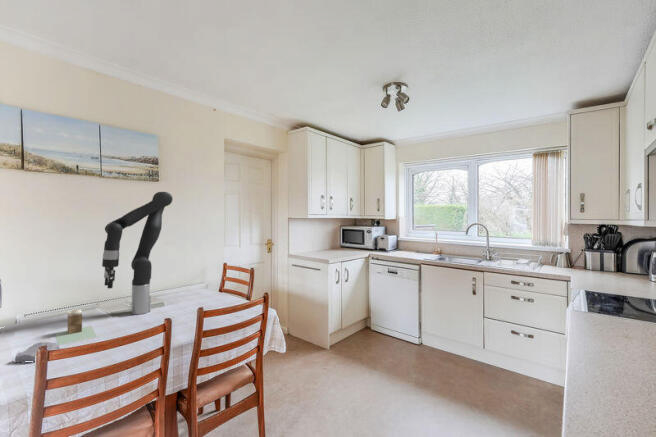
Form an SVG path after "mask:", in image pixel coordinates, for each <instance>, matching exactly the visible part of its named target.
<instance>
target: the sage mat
mask: <svg viewBox="0 0 656 437" xmlns="http://www.w3.org/2000/svg"><path fill="white" fill-rule="evenodd" d="M54 334H55V338H56V342H57V343H56V344H58V345H59V346H60V345H65V344H71V343H76V342H78V341H79V342H80V341H83V340H88V339H93V338H97V337H98V335H97V334H96V332H95V330H94V328H93V327H92V325H90V326H82V332H79V333H74V334H68V329H67V330H63V331H59V332H54Z"/></svg>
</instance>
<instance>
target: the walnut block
mask: <svg viewBox="0 0 656 437" xmlns="http://www.w3.org/2000/svg"><path fill="white" fill-rule="evenodd" d="M82 328H83V311H82V309H75V310H68V311H67V330H68V334H74V333H79V332H82Z"/></svg>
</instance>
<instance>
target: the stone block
mask: <svg viewBox="0 0 656 437" xmlns="http://www.w3.org/2000/svg"><path fill="white" fill-rule="evenodd" d="M43 345H48V350H53V349H58V350H59V349H60V345H58V343H56V342H55V343H54V342H51V341H49V342H48V341H44V342H43V341H41V342H36V343H35V344H33V345H31V346H29V347H28V348H27V349H25V350H23V351H20V352H18V353H16V355H15V358H14V361H15V363H16V362H17V364H19V363H18V362H25V361H33V362H34V363H36V362H35V356H36V350H37V348H38V347H40V346H43ZM25 363H26V362H25Z"/></svg>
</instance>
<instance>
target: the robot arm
mask: <svg viewBox="0 0 656 437" xmlns="http://www.w3.org/2000/svg"><path fill="white" fill-rule="evenodd" d="M172 203H173V196H172V194H171V193H169V192H167V191H157V192H156V193H155V194H153V196H152V199H151V201H149V202H147V203H145V204H144V205H143V204H142V205H141V206H139V207H136V208H134V209H132V210H131V211H129V212H128V213H125V214H124V215H123V216H121V217H119V218H117V219H114V220H112V221H111V222H109V223H107V224H106V226H105V227H104V231H105V233H106V234H107V235H106V239H105V242H104V246H103V247H104V248H103V253H102V264H101V267H102V268H104V275H103V277H104V287H105V286H106V287H107V289H113V287H114V282H115V279H116V278H115V277H116V275H115V274H116V269H115V268H117V267H118V266H119V264H120V262H119V261H120V245H121V239H122V235H123V230H124V229H126V228H127V227H128V228H129V227H131V226H134V225H135V224H137V223H138V222H140V221H142V220H143V219H144V218H146V217H147V218H146V220H145V223H144V227H143V230H142V232H141V236H140V239H139V244H138V246H137V247H138V248H137V250H136V253H135V255H134V256H133V258H132V261H131V265H130V266H131V269H132V270H133V278H132V280H131V314H132V315H143V314H147V313H149V312H151V300H152V298H151V297H152V296H151V295H150V292H151V291H150V290H151V289H150V287H151V279H152V270H153V269H152V266H153V265H152V262H151V260H150V256H151V255H150V254H151V251H152V249H153V248H154V246H155V244H156V243H157V241H158V240H159V237H160V234H161V231H162V226H163V225H162V224H163V222H162V221H163V212H164V211H165V207H169V206H170V205H171V204H172Z"/></svg>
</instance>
